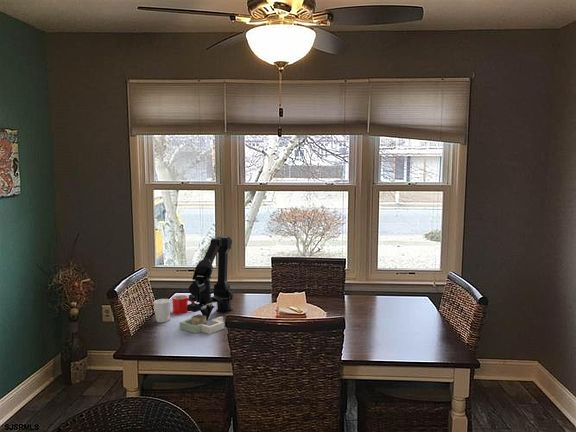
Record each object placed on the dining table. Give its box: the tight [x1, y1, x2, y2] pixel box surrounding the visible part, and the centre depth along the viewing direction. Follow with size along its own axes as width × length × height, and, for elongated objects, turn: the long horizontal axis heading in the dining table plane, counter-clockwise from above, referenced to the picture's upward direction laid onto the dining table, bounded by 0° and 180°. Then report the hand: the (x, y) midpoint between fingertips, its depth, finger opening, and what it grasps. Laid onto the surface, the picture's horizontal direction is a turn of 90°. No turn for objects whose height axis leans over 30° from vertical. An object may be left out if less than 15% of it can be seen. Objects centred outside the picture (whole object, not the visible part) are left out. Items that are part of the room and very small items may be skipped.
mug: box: [171, 294, 196, 315], centre depth 261 cm, size 8×12×8 cm, turn 85°
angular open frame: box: [179, 315, 225, 335], centre depth 238 cm, size 18×18×3 cm
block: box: [190, 313, 207, 326], centre depth 238 cm, size 5×5×5 cm
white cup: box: [153, 298, 171, 323], centre depth 248 cm, size 8×8×10 cm
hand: (206, 320), depth 241 cm, fingers closed
